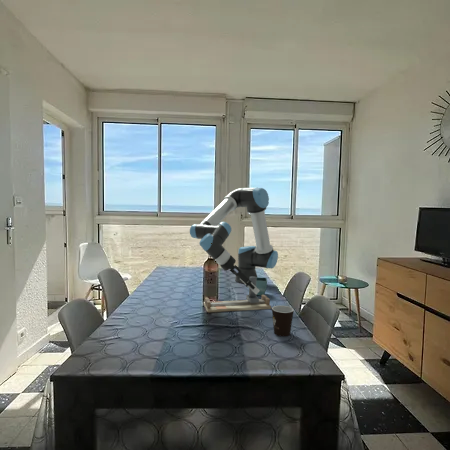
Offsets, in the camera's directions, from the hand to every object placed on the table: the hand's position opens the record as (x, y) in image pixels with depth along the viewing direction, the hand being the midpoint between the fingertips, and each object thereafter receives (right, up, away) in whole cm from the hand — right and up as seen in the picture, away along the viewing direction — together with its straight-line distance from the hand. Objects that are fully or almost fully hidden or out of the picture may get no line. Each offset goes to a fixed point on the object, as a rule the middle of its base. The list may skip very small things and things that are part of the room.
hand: (253, 288), depth 163 cm
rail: (-8, -9, -1) cm, 12 cm away
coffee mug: (+9, -11, -32) cm, 35 cm away
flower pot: (+5, -8, +22) cm, 23 cm away
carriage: (-1, -6, +1) cm, 6 cm away
